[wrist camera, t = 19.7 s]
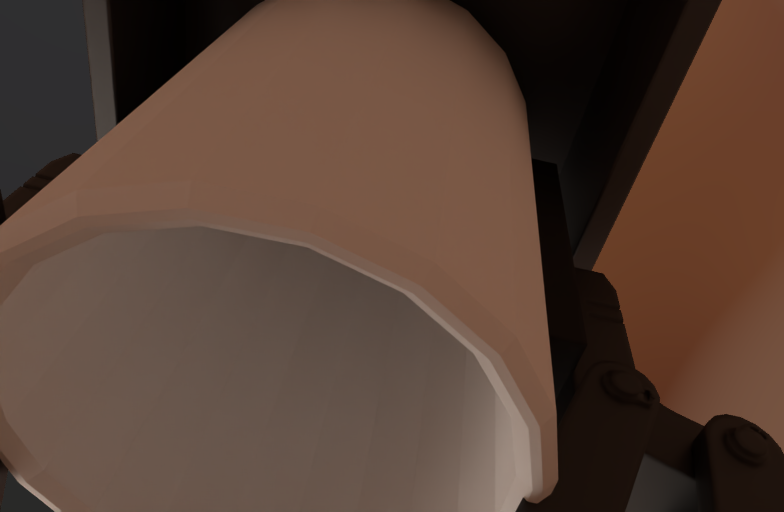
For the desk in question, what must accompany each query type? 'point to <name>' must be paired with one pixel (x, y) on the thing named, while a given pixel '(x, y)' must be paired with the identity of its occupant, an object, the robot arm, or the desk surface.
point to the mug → (291, 282)
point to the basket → (524, 52)
